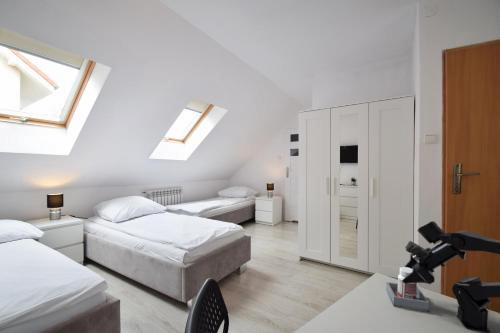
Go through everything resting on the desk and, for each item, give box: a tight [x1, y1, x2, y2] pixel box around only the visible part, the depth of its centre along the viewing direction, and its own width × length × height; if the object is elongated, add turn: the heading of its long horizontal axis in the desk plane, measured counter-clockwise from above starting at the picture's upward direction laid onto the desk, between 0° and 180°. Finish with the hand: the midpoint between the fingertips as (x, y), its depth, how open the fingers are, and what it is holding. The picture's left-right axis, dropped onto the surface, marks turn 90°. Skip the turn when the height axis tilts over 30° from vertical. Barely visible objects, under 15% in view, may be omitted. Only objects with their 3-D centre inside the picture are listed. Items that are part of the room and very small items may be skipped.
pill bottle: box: [397, 266, 418, 300], centre depth 93 cm, size 6×6×11 cm
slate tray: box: [385, 281, 430, 313], centre depth 93 cm, size 11×11×4 cm
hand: (402, 276), depth 94 cm, fingers open, 9 cm apart
